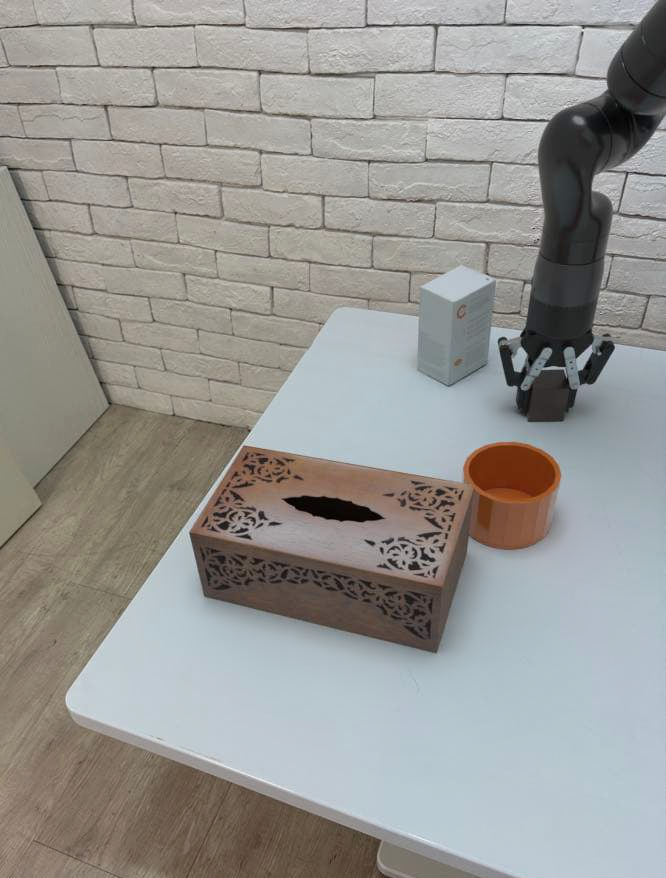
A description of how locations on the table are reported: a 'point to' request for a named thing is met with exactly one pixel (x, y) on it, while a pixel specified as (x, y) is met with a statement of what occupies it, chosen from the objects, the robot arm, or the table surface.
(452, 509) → the tissue box cover
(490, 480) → the round open container
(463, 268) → the small box
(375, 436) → the table surface
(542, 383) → the walnut block
